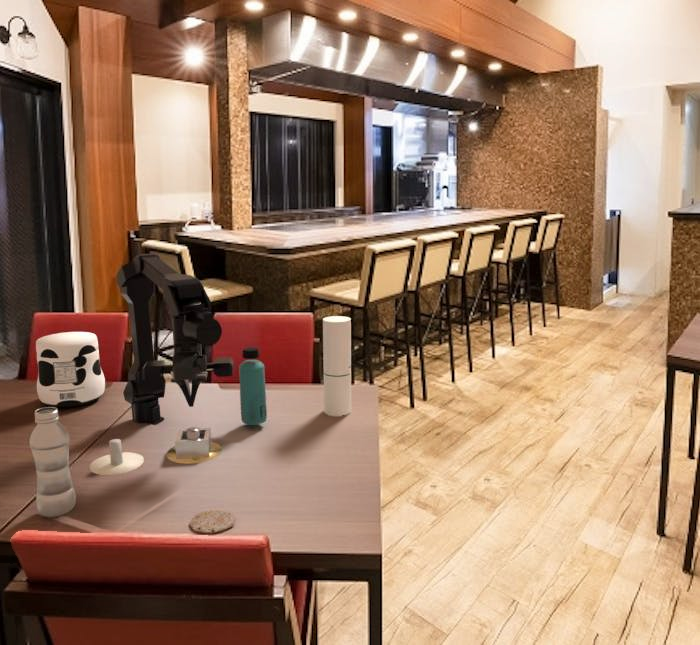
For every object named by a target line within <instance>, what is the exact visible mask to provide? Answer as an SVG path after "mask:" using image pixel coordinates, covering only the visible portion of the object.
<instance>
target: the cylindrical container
mask: <svg viewBox="0 0 700 645" xmlns="http://www.w3.org/2000/svg"><path fill="white" fill-rule="evenodd" d="M351 320H352V318H351V317H349V316H345V315H344V316H341V315H332V316H326V317H323V318H322V348H323V349H322V353H323V357H322V358H323V361H322V363H323V412H325V413H326V414H325V413H324V414H325V415H327V414H328V415H327V416H330V415H331V416H330V417H343V416H342V415H345V416H347V415H346V414H348V413H350V412H351V413H352V322H351ZM351 413H350V414H351ZM348 415H349V414H348Z"/></svg>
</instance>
